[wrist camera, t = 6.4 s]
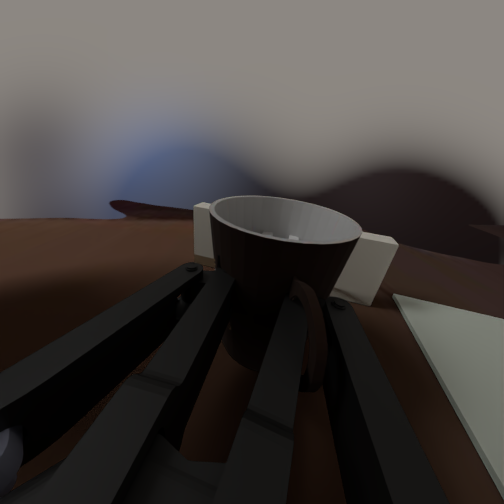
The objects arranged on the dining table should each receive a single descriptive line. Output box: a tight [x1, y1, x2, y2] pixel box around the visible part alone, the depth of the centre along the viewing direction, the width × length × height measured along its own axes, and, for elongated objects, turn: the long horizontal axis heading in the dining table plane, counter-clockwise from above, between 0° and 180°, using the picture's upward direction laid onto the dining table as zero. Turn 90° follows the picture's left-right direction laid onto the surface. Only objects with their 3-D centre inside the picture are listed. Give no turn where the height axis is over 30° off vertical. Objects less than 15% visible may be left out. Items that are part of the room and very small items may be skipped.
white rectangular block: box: [194, 202, 399, 306], centre depth 23 cm, size 20×4×7 cm, turn 75°
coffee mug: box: [209, 196, 362, 392], centre depth 13 cm, size 12×9×10 cm
